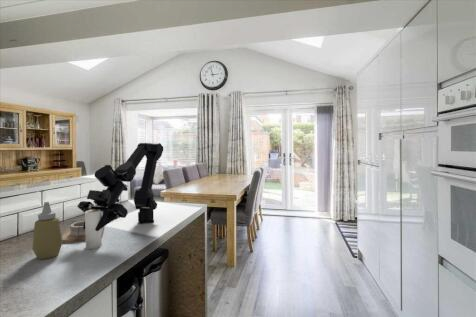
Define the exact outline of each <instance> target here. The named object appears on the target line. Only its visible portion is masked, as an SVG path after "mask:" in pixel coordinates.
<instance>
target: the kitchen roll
mask: <svg viewBox="0 0 476 317" xmlns="http://www.w3.org/2000/svg"><path fill="white" fill-rule="evenodd" d="M100 219H101V210H98V209H96V210H88V211H85V213H84V221H85V235H86V240H85V249H86V250H95V249H98V248H100V247H102V238H101V229H100V230H99V231H96V230H95V229H96V227H97V225H98V223H99V221H100Z"/></svg>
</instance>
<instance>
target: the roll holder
mask: <svg viewBox="0 0 476 317" xmlns="http://www.w3.org/2000/svg"><path fill="white" fill-rule="evenodd" d="M84 222H85V220H81V221H75V222H73V223H71V224H70V226H69V228H67V229H66V230H65V232H64V233H63V235H61V236H62V244H65V243H67V244H68V243H75V242H83V241H86V235H85V230H84V229H83V226H84ZM104 230H105V226H104V227H103V228H101V239H102V238H103V235H104Z"/></svg>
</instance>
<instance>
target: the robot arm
mask: <svg viewBox="0 0 476 317" xmlns="http://www.w3.org/2000/svg"><path fill="white" fill-rule="evenodd" d="M163 152H164V146H163V145H162V143H159V142H149V143H148V142H139V143H138V144H137V146H136V148H135V150H134V151H133V152H132V153H131V154H130V156H129V157H128V159H127V160H126V161H125V162H123V163H121V164H119V165H118V166H117V167H116V168H115V169H113V167H112V165H110V164H105V165H104V166H103V167H102V166H101V167H100V168H98V169H97V170H96V171H95V172H94V177H95V178H96V179H97V181H98V182H99V183H100V184H101V185H102V186H103V187H105V188H106V189H102V190H93V189H90V190H89V192H88V194H87V197H86V199H87V200H92V201H93V203H92V202H91V201H87V200H86V201H85V200H83V201H80V202H79V203H78V204H77V206H76V207H77V208H78V209H80V210H81V211H82V212H83V213H84V214H85V211H88V210H96V209H98V210H101V211H103V216H102V218H101V219H100V221H99V223H98V225H97V227H96V229H95V230H96V231H99V230H100V229H101V228H103V227H104V228H105V227H106V226H107V225H108V224H110V223H111V222H113V221H115V220H118V218H121V219H123V218H127V216H128V215H129V214H128V213H129V212H128V209H127V208H126V207H125V206H124V205H123V204H122V203H119V202H120V199H119V198H120V197H121V195H122V194H123V192H124V191H125V192H127V191H128V186H127V184H125V183H127V182H128V183H129V182H132V181H133V180H134V179H135V176H136V174H137V171H136V170H137V167H138V166H139V164H140V163H141V162H142V160H143V159H144V158H146V161H145V166H144V171H143V176H142V181H141V185H140V188H139V189H136V190H135V192H134V196H133V203H134V204H133V205H134V207H135V210H139V211H138V213H137V221H138V222H139V224H149V223H154V222H155V220H154V210H156V209H157V207H158V203H157V201H155V199H154V197H155V194H154V192H153V190H152V188H153V184H154V178H155V173H156V168H157V163H158V161H159V159H160V158H161V157H162V155H163ZM94 204H95V205H94ZM117 215H118V217H117ZM83 229H84V230H85V222H84V226H83Z"/></svg>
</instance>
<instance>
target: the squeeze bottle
mask: <svg viewBox="0 0 476 317" xmlns="http://www.w3.org/2000/svg"><path fill="white" fill-rule="evenodd" d="M62 236H63V235H62V230H61V224H60V219H59V218H58V217H56V211H52V208H51V205H50V202H49V201H45V202H43V207H42V210H41V212H40V213H38V214H37V220H36V221H34V227H33V239H32V251H33V252H34V254H35V256H36V258H37V259H39V260H45V259H46V260H47V259H50V258H54V257H56V256H58V255H59V254H60V252H61V248H62V246H63V243H62Z"/></svg>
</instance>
